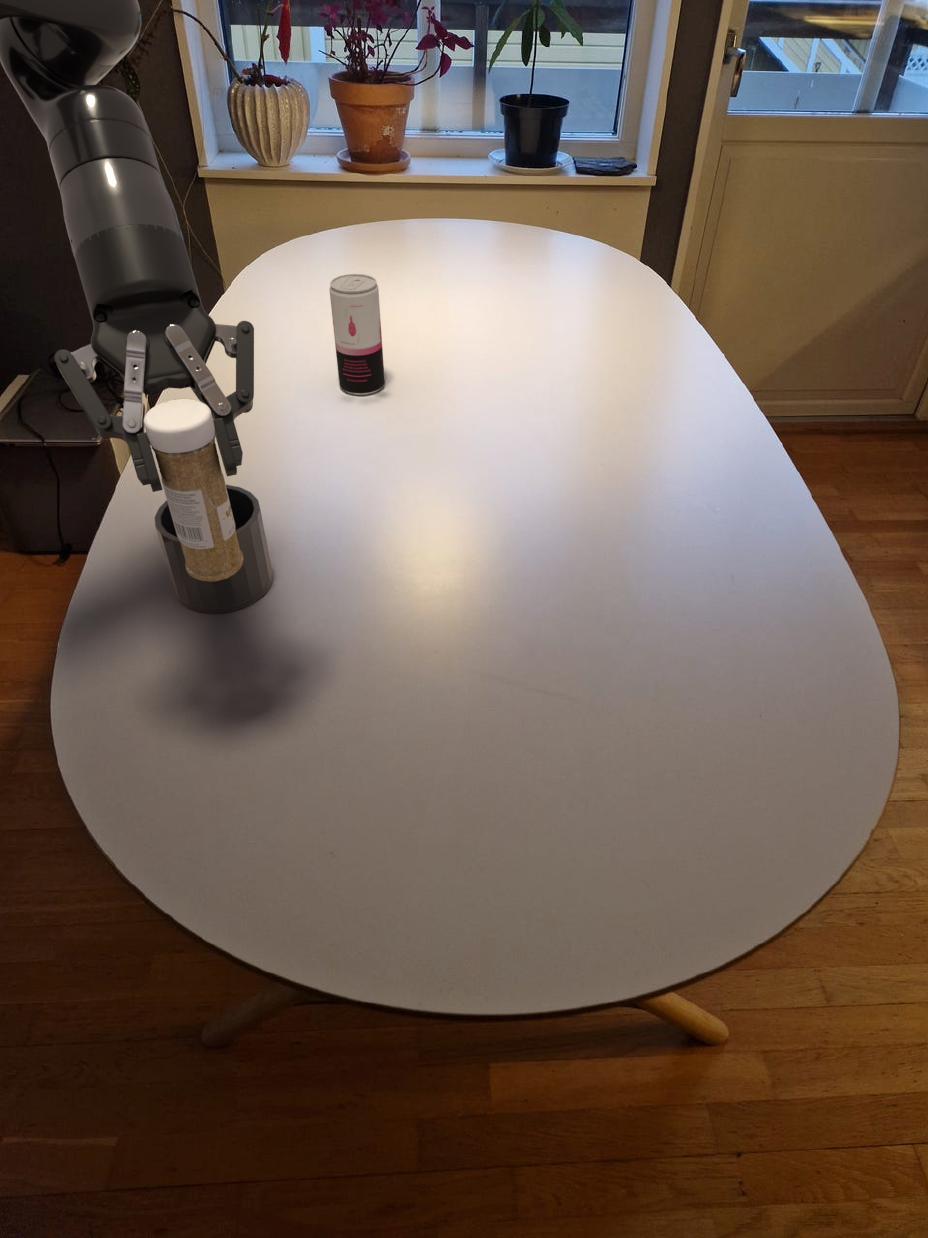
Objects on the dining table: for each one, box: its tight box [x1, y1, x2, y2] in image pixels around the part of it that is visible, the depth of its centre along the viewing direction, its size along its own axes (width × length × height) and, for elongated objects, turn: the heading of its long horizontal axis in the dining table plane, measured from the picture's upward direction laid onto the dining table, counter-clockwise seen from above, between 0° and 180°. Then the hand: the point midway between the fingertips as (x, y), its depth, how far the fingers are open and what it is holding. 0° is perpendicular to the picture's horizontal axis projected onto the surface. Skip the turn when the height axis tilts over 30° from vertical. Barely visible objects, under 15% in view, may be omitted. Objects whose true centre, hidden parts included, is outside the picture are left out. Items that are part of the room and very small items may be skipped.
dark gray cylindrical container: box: [154, 484, 274, 615], centre depth 89 cm, size 10×10×9 cm
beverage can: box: [329, 273, 386, 396], centre depth 120 cm, size 7×6×15 cm
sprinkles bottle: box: [144, 398, 243, 581], centre depth 63 cm, size 5×5×14 cm
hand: (195, 479), depth 61 cm, fingers closed on sprinkles bottle, 4 cm apart
